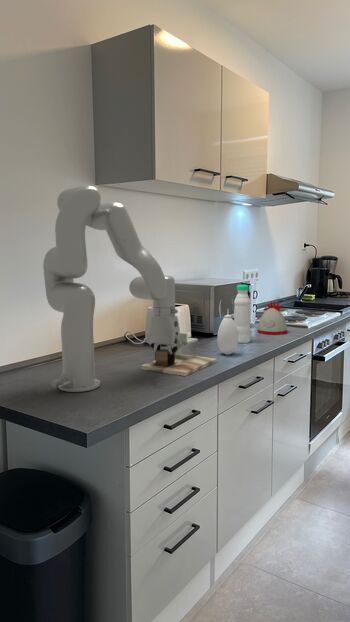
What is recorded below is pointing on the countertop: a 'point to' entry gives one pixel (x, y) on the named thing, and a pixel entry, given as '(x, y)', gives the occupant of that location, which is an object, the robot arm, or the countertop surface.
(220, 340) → the sauce bottle
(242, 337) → the water bottle
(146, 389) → the countertop surface
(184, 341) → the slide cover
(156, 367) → the puzzle board
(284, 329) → the kitchen timer
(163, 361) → the walnut block
